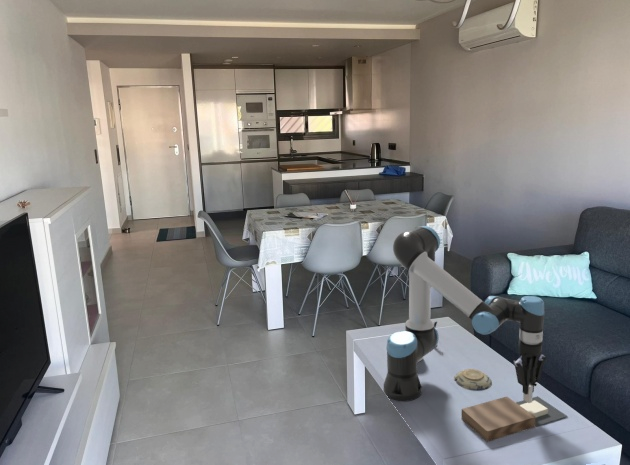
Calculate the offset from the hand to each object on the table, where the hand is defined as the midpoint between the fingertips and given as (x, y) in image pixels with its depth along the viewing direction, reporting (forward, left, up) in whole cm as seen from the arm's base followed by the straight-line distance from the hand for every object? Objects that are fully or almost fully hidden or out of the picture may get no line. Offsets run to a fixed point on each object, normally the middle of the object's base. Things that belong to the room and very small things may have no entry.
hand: (527, 400), depth 172 cm
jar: (-15, +54, -6) cm, 56 cm away
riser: (-13, 0, -5) cm, 14 cm away
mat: (+4, 0, -5) cm, 7 cm away
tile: (+2, 0, -5) cm, 5 cm away
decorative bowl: (-3, +27, -6) cm, 28 cm away
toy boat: (0, +65, -6) cm, 65 cm away
